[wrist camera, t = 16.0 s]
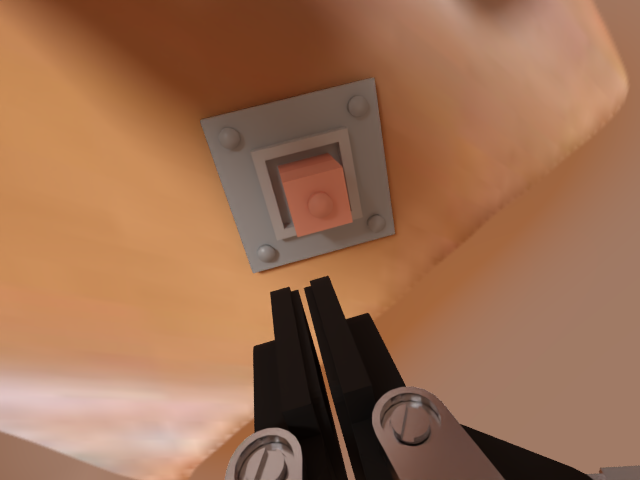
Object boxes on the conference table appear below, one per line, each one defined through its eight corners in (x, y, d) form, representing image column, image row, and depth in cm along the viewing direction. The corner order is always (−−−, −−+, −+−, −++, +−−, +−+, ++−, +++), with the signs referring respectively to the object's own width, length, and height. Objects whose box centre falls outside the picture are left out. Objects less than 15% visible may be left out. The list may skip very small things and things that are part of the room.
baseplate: (201, 119, 32) (198, 122, 30) (371, 77, 34) (378, 77, 32) (252, 268, 40) (253, 279, 38) (391, 230, 41) (399, 238, 39)
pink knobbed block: (277, 165, 34) (283, 185, 28) (327, 152, 35) (344, 169, 29) (290, 213, 37) (298, 241, 30) (337, 200, 37) (355, 225, 31)
